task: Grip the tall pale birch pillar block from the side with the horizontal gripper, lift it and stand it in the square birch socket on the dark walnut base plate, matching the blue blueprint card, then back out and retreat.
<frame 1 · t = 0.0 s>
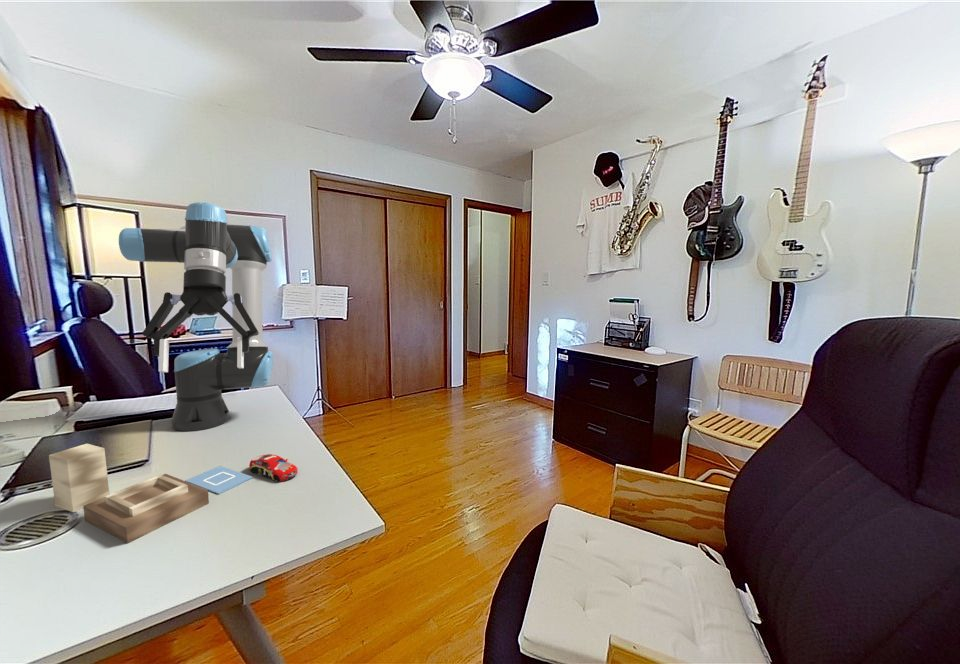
hand: (203, 369, 82), 28 cm above the table, tool tilted 20°, fingers open, 13 cm apart
pillar: (83, 501, 82), on the table
blueprint card: (219, 479, 92), on the table
base plate: (149, 511, 79), on the table
race car: (273, 474, 96), on the table
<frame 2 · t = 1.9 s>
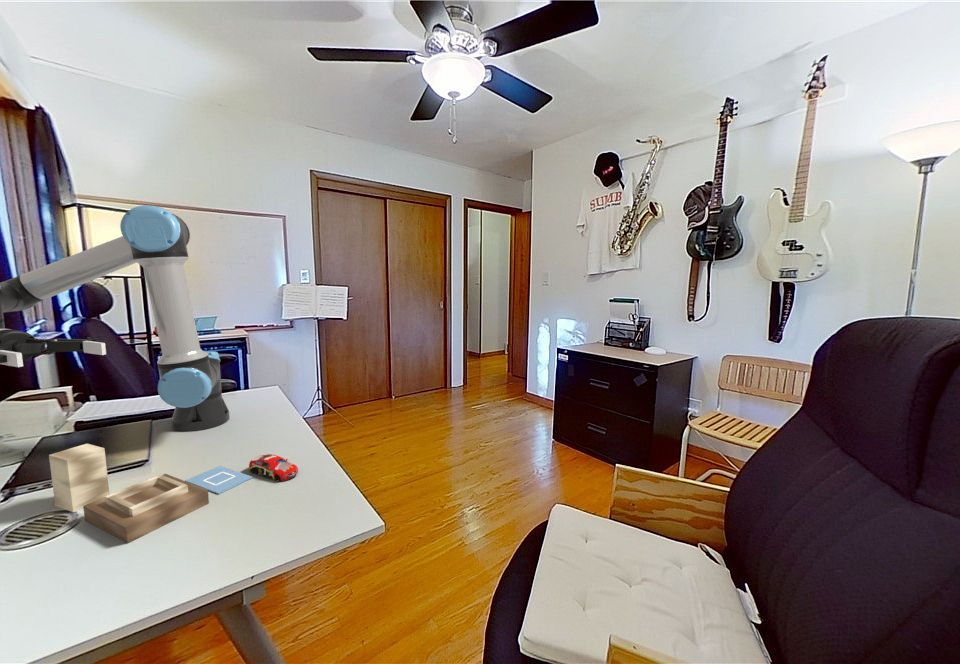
hand: (65, 354, 84), 30 cm above the table, tool horizontal, fingers open, 13 cm apart
nothing on the table moved.
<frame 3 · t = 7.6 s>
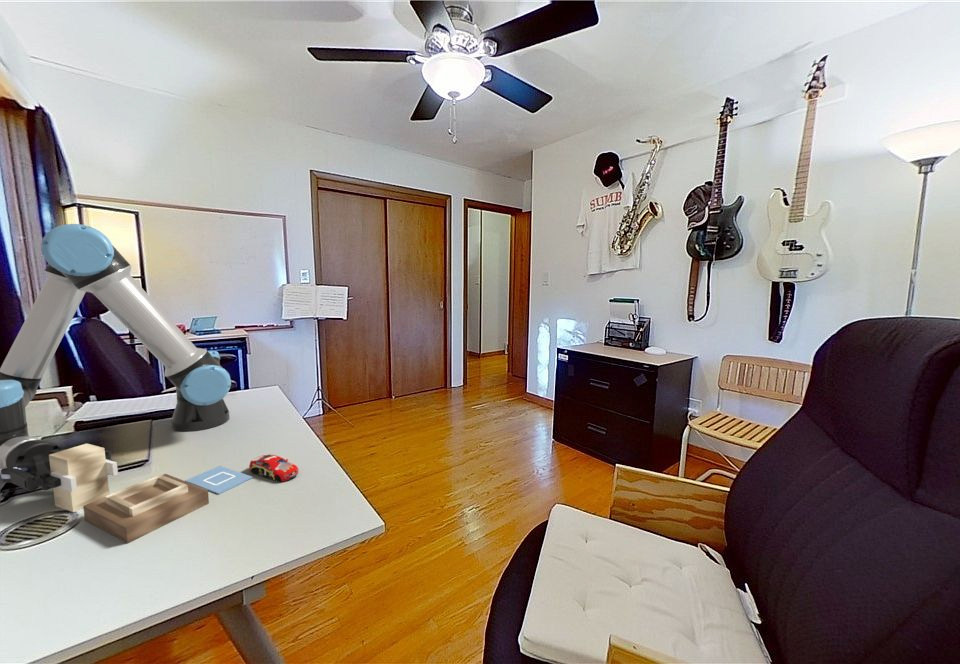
hand: (95, 476, 80), 7 cm above the table, tool horizontal, fingers closed on pillar, 6 cm apart
pillar: (83, 501, 82), on the table, touching gripper
everything else where it was.
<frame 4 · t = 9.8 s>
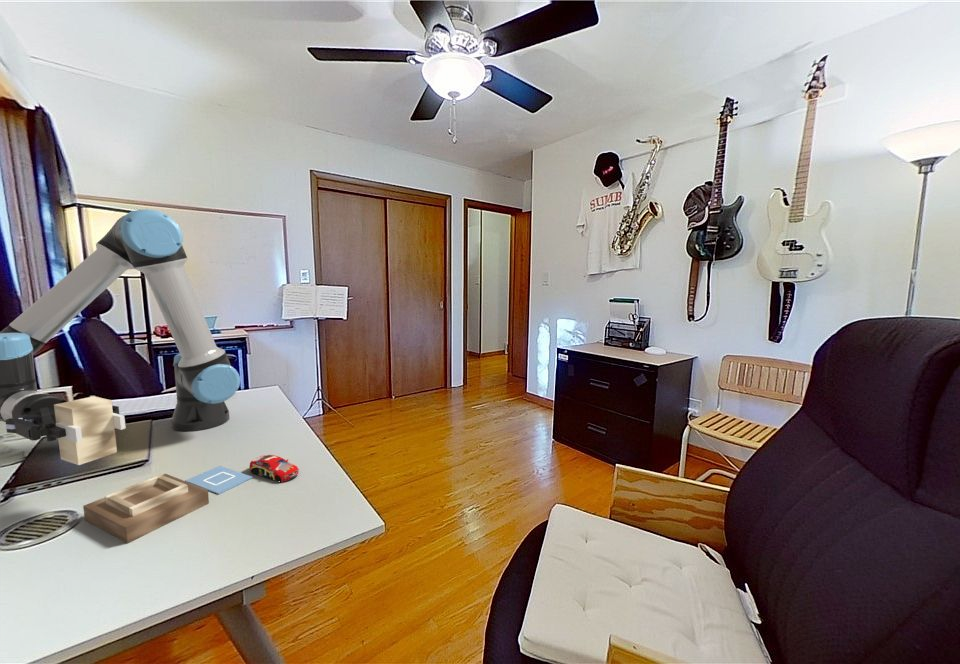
hand: (101, 428, 75), 18 cm above the table, tool horizontal, fingers closed on pillar, 6 cm apart
pillar: (89, 455, 78), point 11 cm above the table, touching gripper
everything else where it was.
when the fingers open (11 cm above the table, at t = 12.0 s): pillar drops 1 cm, resting on base plate.
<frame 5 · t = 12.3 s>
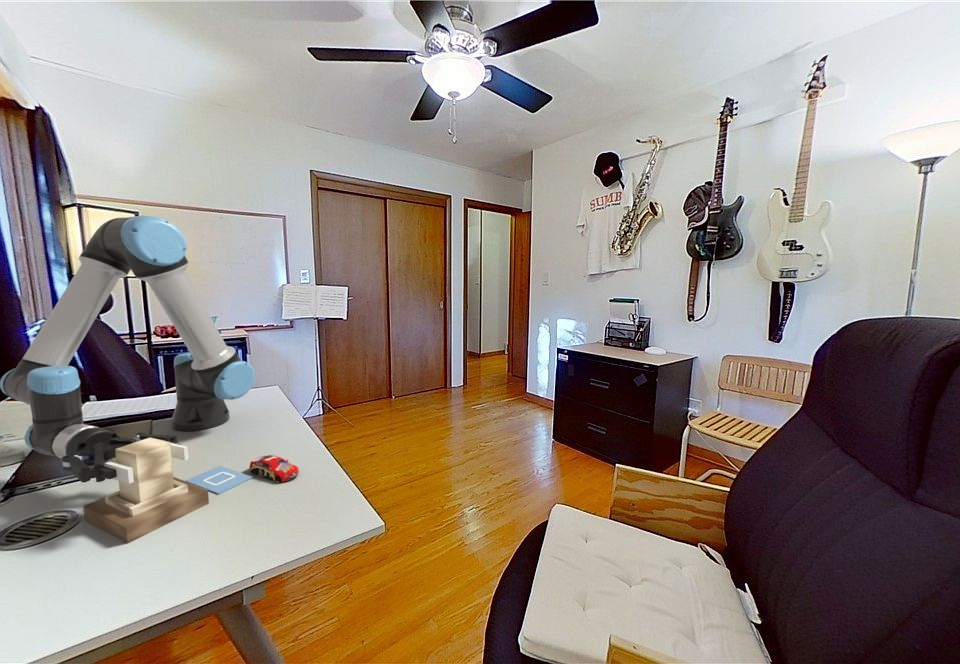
hand: (160, 464, 76), 11 cm above the table, tool horizontal, fingers open, 9 cm apart
pillar: (148, 497, 79), point 3 cm above the table, touching base plate
everything else where it was.
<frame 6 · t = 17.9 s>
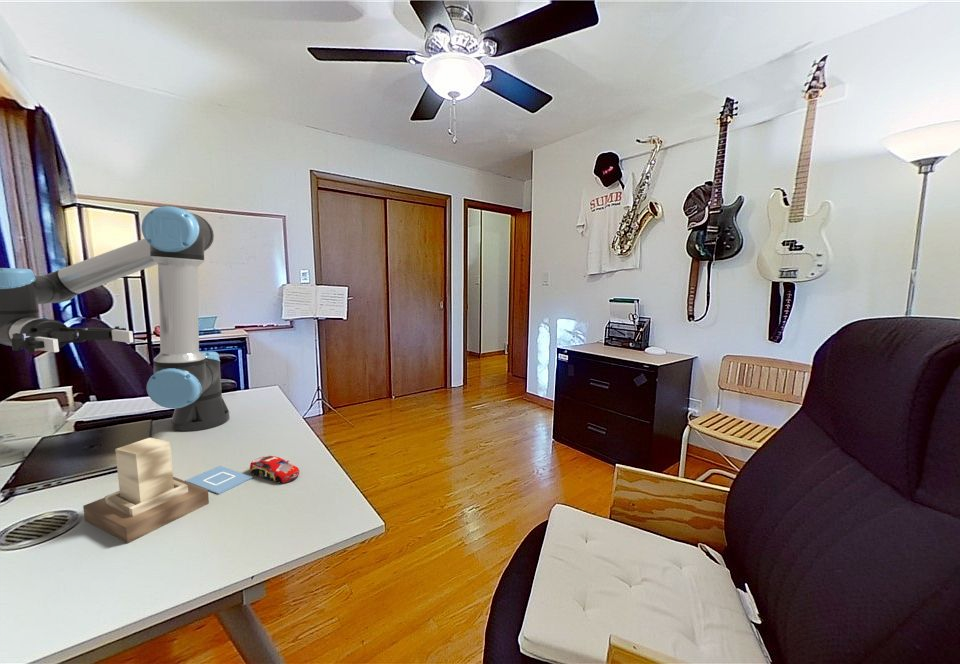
hand: (96, 341, 89), 32 cm above the table, tool horizontal, fingers open, 13 cm apart
at the end: pillar 0.0 cm off-centre on the base plate, point 3.0 cm above the base plate's base; pillar tilted 0°; the gripper is holding nothing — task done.
